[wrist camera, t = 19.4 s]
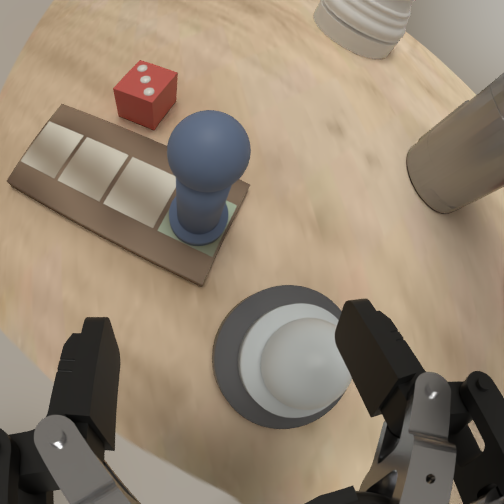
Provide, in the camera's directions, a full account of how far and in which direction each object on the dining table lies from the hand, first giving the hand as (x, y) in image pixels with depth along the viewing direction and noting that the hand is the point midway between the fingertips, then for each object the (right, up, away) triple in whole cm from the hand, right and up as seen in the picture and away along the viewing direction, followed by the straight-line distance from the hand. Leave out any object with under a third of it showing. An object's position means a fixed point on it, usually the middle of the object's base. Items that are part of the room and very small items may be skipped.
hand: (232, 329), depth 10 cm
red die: (-9, +16, +16) cm, 24 cm away
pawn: (-3, +5, +14) cm, 15 cm away
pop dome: (+3, -5, +12) cm, 13 cm away
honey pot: (+16, +36, +27) cm, 47 cm away
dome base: (+3, -6, +14) cm, 15 cm away
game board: (-10, +8, +14) cm, 19 cm away
